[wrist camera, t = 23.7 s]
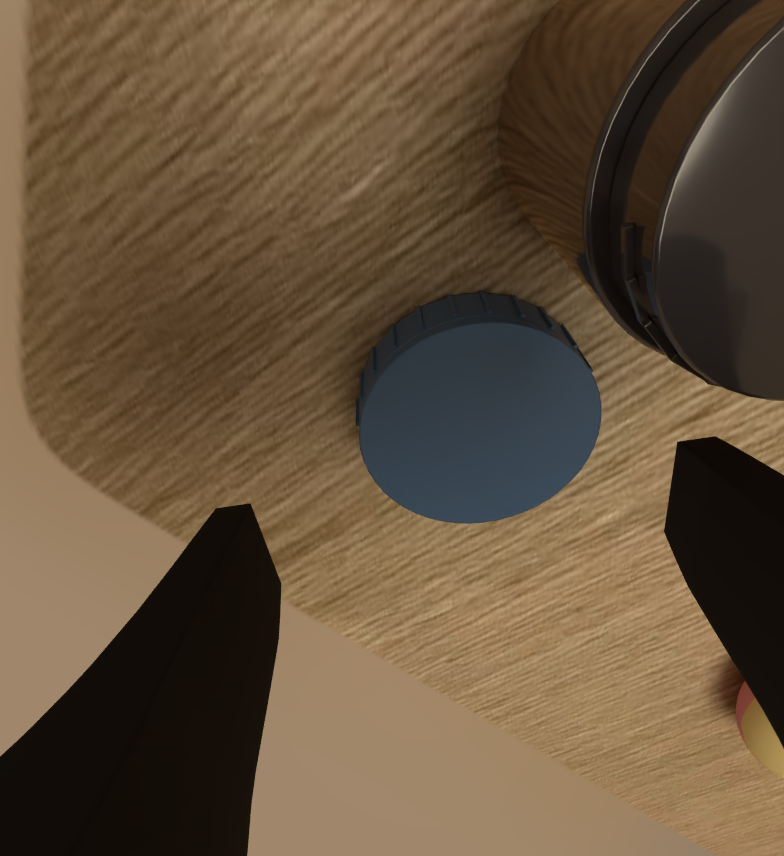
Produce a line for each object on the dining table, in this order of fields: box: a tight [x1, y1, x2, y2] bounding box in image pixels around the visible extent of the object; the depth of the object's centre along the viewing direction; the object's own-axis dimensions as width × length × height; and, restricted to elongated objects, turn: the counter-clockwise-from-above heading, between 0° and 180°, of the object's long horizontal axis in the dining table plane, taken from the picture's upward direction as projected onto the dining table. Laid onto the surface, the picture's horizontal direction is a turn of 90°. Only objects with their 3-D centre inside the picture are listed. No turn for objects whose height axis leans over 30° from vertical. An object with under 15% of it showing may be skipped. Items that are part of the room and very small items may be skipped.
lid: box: [356, 291, 601, 523], centre depth 15 cm, size 6×6×2 cm
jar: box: [499, 0, 784, 401], centre depth 9 cm, size 5×5×8 cm
